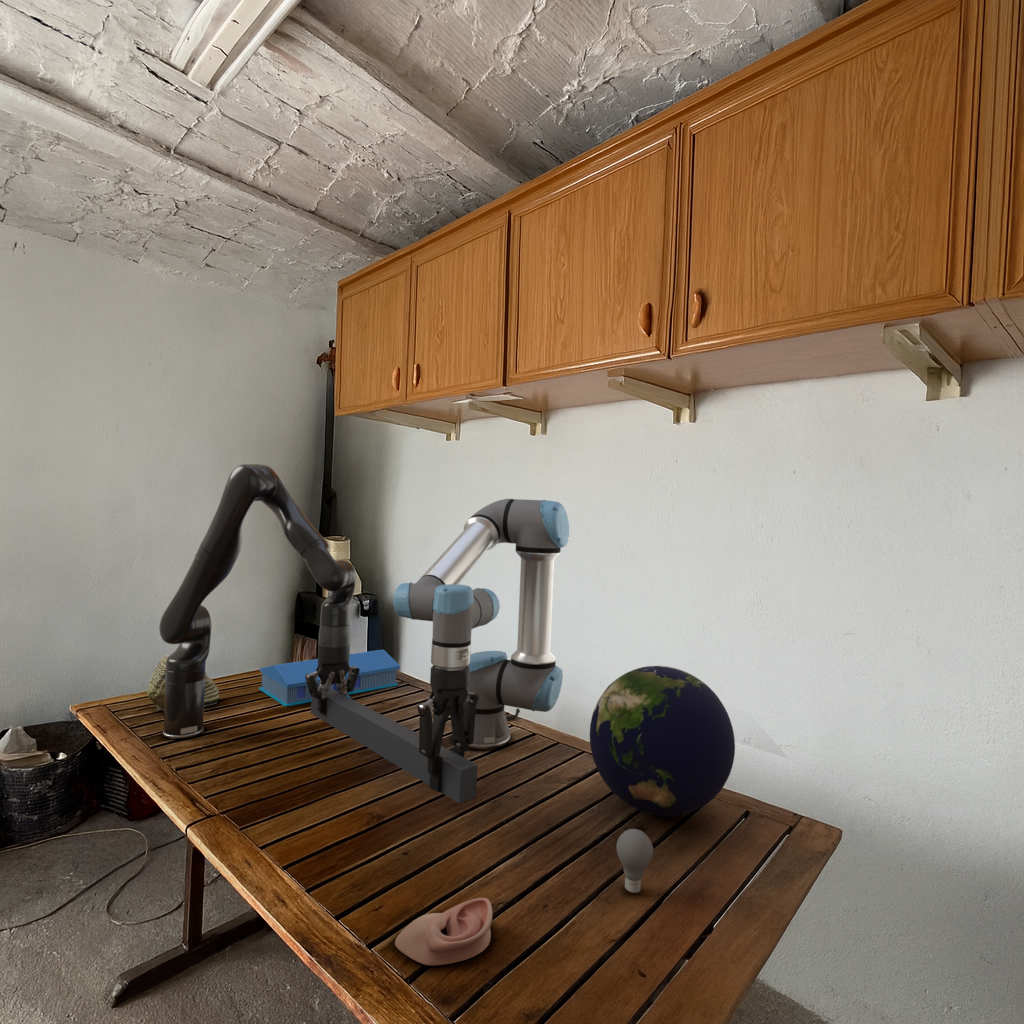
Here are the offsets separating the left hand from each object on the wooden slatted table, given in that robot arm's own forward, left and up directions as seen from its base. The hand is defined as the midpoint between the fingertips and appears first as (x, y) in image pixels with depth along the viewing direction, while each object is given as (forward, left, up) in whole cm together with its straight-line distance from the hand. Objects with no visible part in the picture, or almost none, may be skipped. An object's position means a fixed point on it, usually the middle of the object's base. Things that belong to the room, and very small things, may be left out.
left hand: (331, 711), depth 155 cm
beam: (+23, 0, -2) cm, 23 cm away
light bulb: (+81, +13, -11) cm, 83 cm away
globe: (+67, +41, -11) cm, 79 cm away
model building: (-48, +26, -11) cm, 55 cm away
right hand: (+46, 0, -2) cm, 46 cm away
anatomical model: (+70, -18, -11) cm, 73 cm away
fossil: (-56, -17, -11) cm, 60 cm away
